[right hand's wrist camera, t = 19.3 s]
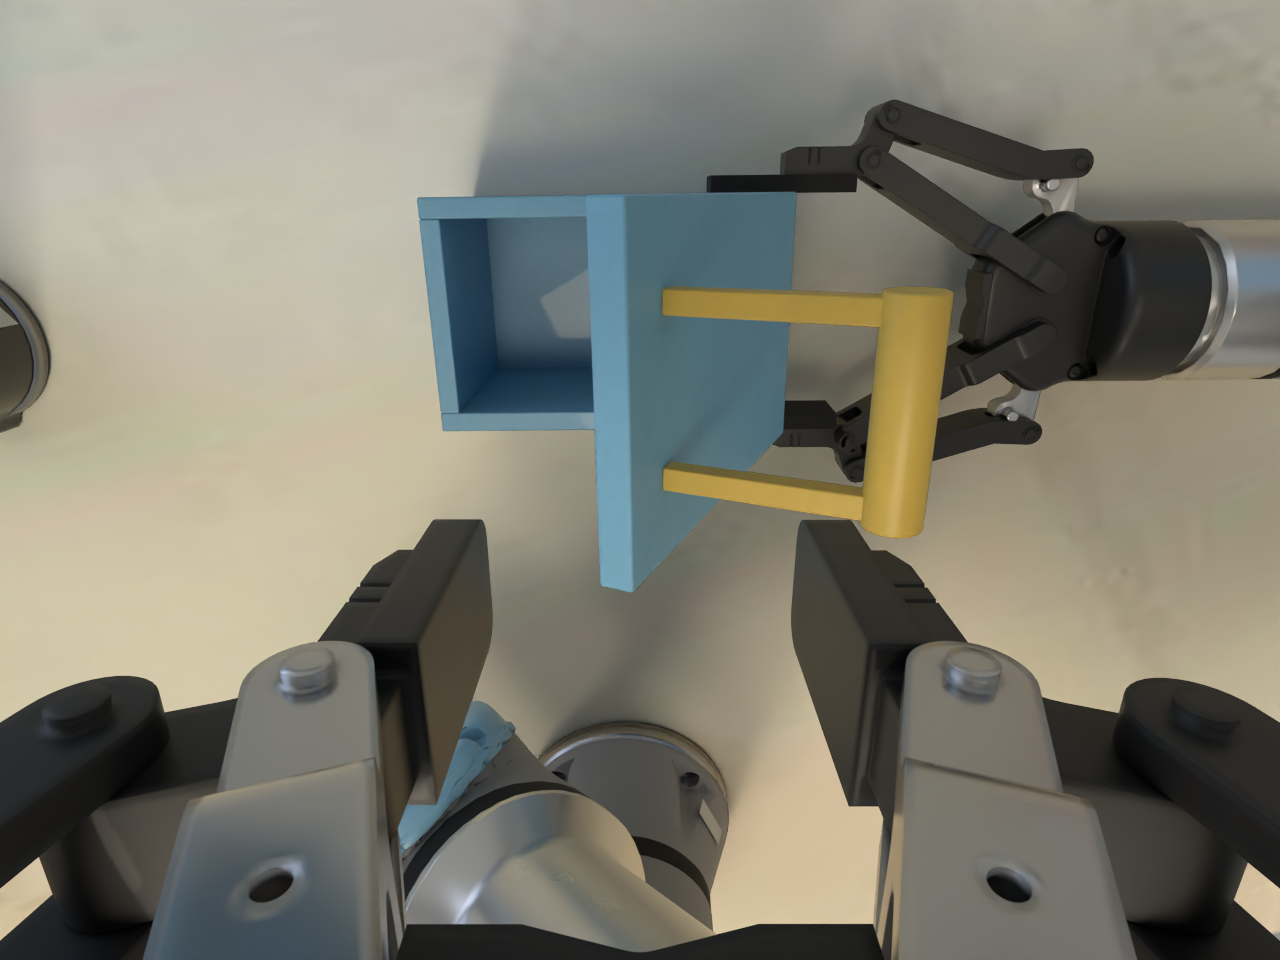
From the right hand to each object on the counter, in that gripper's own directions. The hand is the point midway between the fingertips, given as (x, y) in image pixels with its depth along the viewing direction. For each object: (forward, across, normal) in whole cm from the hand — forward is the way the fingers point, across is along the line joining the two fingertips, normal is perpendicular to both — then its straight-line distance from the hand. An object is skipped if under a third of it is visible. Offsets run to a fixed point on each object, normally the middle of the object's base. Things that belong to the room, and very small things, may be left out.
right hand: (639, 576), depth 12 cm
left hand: (+27, -3, -1) cm, 27 cm away
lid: (+16, -2, -1) cm, 16 cm away
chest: (+34, +2, -1) cm, 34 cm away
